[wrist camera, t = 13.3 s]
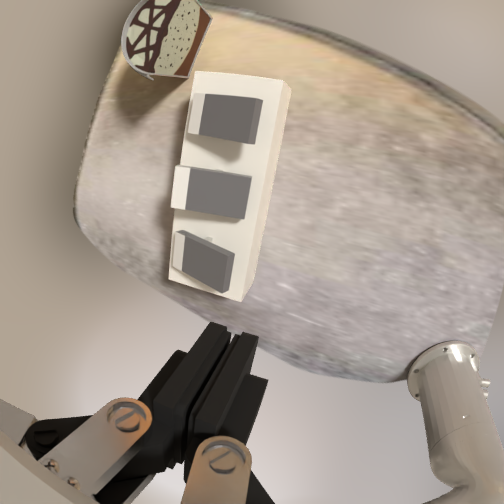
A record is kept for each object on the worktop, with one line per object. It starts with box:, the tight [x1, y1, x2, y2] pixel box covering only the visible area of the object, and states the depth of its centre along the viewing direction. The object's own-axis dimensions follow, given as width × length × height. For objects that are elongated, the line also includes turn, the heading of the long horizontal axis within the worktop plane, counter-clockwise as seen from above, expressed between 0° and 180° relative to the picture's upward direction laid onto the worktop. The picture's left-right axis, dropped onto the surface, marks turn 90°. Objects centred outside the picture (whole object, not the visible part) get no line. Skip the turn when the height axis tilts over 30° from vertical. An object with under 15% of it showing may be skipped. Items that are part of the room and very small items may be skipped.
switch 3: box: [173, 230, 235, 293], centre depth 36 cm, size 8×4×1 cm, turn 79°
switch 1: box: [188, 93, 263, 145], centre depth 30 cm, size 8×4×1 cm, turn 79°
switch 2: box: [171, 165, 252, 219], centre depth 33 cm, size 8×4×1 cm, turn 80°
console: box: [169, 71, 292, 302], centre depth 37 cm, size 10×26×7 cm, turn 169°
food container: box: [121, 0, 213, 80], centre depth 31 cm, size 12×6×10 cm, turn 159°
